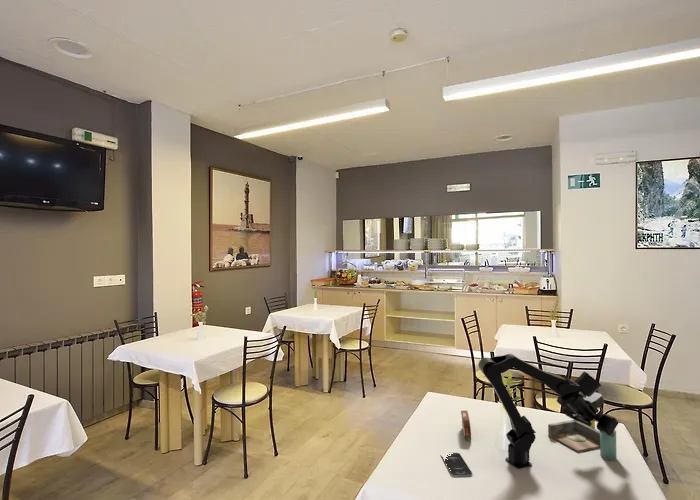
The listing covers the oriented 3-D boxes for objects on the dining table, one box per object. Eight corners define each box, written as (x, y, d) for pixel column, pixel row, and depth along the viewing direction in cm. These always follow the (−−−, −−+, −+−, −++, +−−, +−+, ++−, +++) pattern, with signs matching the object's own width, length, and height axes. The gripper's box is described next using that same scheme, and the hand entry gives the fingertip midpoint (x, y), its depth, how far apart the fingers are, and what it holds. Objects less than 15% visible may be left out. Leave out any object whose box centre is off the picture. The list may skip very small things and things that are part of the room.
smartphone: (459, 452, 147) (473, 474, 132) (459, 455, 147) (473, 477, 132) (439, 453, 146) (451, 475, 131) (439, 455, 146) (451, 477, 131)
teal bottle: (609, 461, 140) (608, 423, 140) (597, 454, 145) (596, 418, 145) (619, 459, 141) (619, 422, 142) (607, 452, 146) (606, 416, 146)
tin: (471, 443, 154) (471, 422, 154) (463, 442, 155) (463, 421, 155) (468, 426, 169) (467, 407, 169) (460, 426, 170) (460, 406, 170)
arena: (577, 452, 146) (577, 439, 146) (548, 436, 160) (548, 424, 160) (605, 446, 151) (605, 434, 151) (575, 431, 164) (574, 419, 164)
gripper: (613, 394, 132) (638, 422, 135) (568, 378, 150) (591, 403, 153) (596, 421, 129) (622, 449, 133) (552, 401, 147) (575, 426, 150)
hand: (601, 430), depth 142 cm, fingers open, 9 cm apart
